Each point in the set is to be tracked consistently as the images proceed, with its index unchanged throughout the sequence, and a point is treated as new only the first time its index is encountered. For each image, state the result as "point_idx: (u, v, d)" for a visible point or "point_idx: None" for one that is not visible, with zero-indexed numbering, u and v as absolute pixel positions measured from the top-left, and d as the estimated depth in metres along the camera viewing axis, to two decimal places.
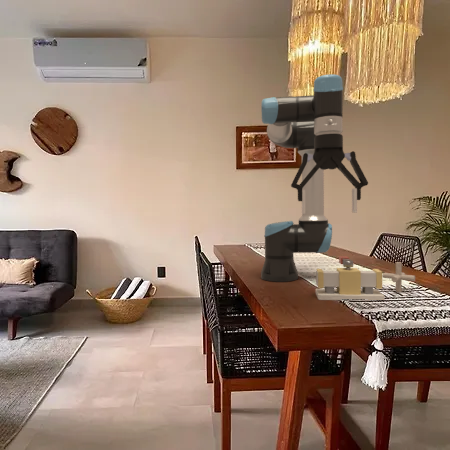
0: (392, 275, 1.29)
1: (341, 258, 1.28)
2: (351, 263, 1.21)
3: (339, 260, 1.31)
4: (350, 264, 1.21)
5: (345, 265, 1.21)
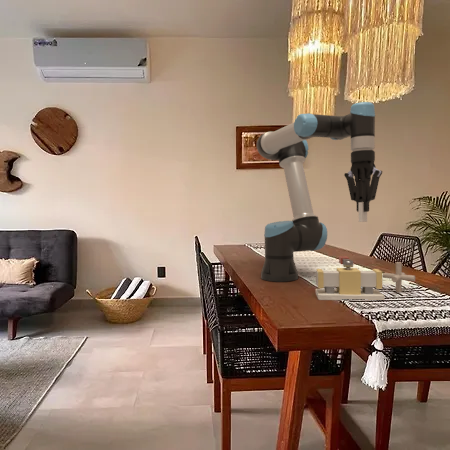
0: (392, 275, 1.29)
1: (341, 258, 1.28)
2: (351, 263, 1.21)
3: (339, 260, 1.31)
4: (350, 264, 1.21)
5: (345, 265, 1.21)
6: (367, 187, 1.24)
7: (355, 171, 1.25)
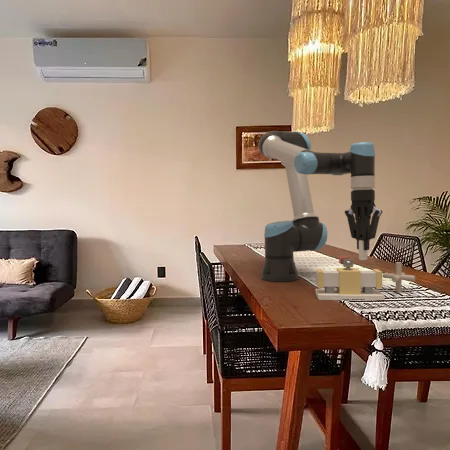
0: (392, 275, 1.29)
1: (341, 258, 1.28)
2: (351, 263, 1.21)
3: (339, 260, 1.31)
4: (350, 264, 1.21)
5: (345, 265, 1.21)
6: (367, 226, 1.25)
7: (355, 209, 1.26)
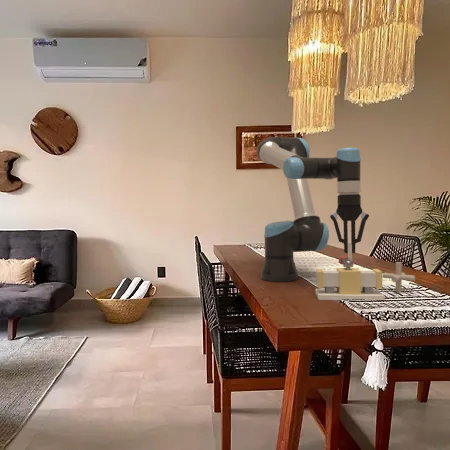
0: (392, 275, 1.29)
1: (341, 258, 1.28)
2: (351, 263, 1.21)
3: (339, 260, 1.31)
4: (350, 264, 1.21)
5: (345, 265, 1.21)
6: None
7: (344, 214, 1.27)
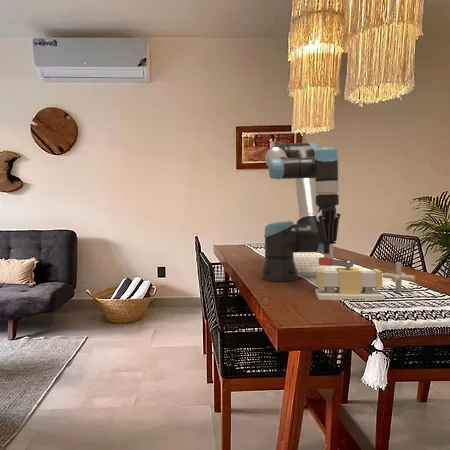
0: (392, 275, 1.29)
1: (330, 259, 1.25)
2: (352, 262, 1.22)
3: (320, 262, 1.28)
4: (352, 264, 1.22)
5: (349, 265, 1.21)
6: None
7: (330, 214, 1.26)
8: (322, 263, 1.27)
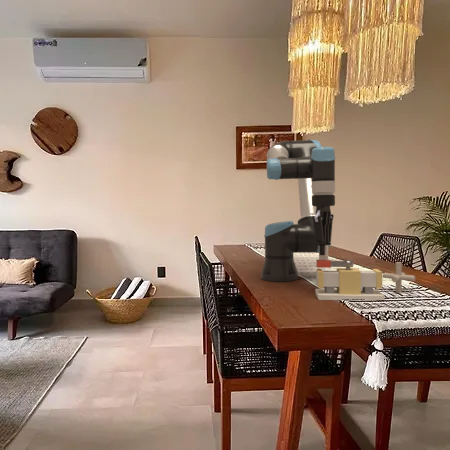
0: (392, 275, 1.29)
1: (330, 261, 1.22)
2: None
3: (319, 265, 1.23)
4: None
5: (352, 265, 1.21)
6: None
7: (327, 214, 1.24)
8: (321, 265, 1.22)
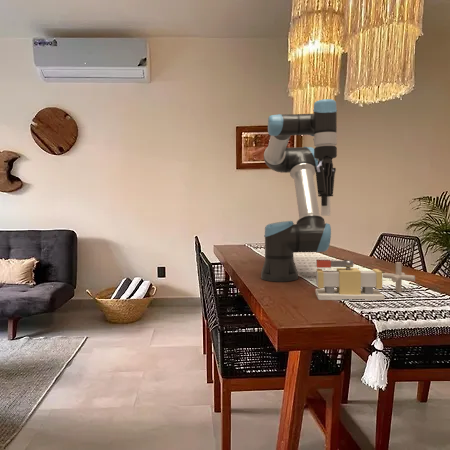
0: (392, 275, 1.29)
1: (330, 261, 1.22)
2: None
3: (319, 265, 1.23)
4: None
5: (352, 265, 1.21)
6: None
7: (329, 165, 1.27)
8: (321, 265, 1.22)
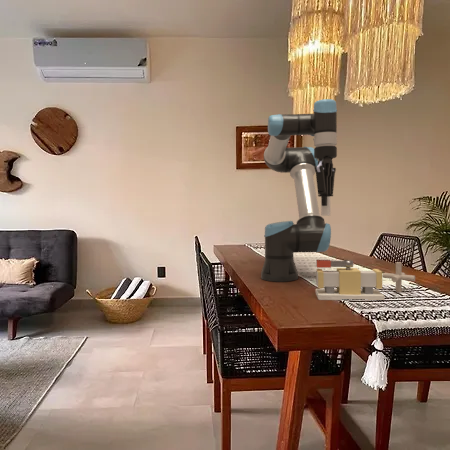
0: (392, 275, 1.29)
1: (330, 261, 1.22)
2: None
3: (319, 265, 1.23)
4: None
5: (352, 265, 1.21)
6: None
7: (329, 165, 1.27)
8: (321, 265, 1.22)
